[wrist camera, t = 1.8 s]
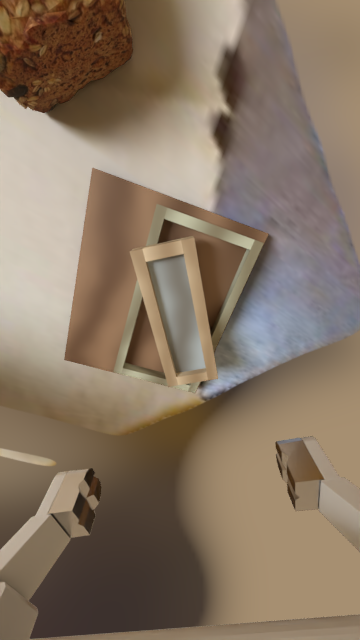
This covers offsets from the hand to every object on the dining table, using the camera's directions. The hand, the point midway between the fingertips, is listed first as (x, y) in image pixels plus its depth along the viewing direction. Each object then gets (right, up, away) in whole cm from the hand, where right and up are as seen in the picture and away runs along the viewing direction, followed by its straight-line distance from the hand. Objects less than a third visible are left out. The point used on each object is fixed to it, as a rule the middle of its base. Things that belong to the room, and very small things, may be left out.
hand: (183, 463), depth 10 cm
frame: (0, +7, +16) cm, 17 cm away
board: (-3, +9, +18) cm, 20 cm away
